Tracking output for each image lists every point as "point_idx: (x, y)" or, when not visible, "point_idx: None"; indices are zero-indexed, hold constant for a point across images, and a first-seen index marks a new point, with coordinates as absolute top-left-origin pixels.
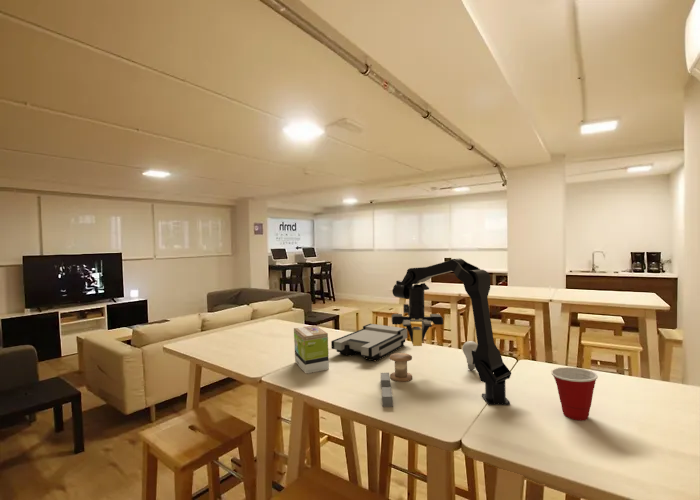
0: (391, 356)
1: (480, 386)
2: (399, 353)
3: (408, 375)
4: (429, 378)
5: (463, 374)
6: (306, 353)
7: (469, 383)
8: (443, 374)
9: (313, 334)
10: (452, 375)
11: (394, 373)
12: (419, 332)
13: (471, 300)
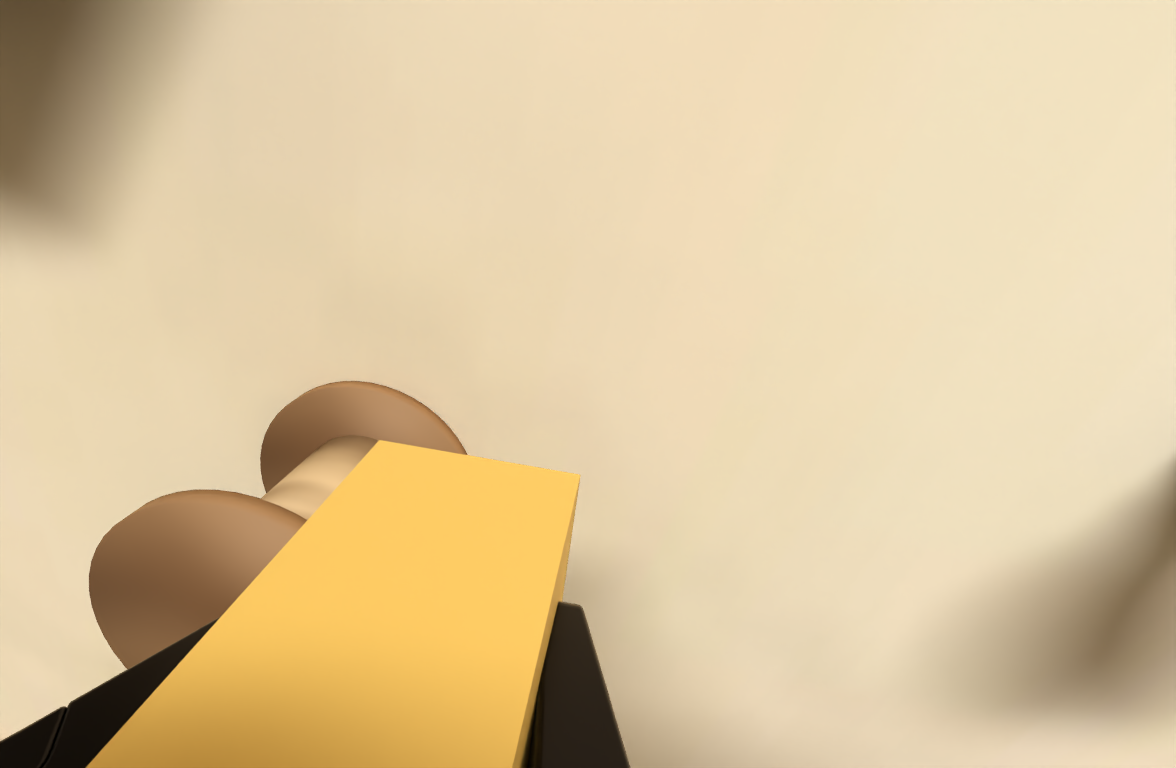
0: (115, 608)
1: (996, 763)
2: (216, 523)
3: None
4: (632, 549)
5: (1038, 532)
6: None
7: (943, 704)
8: (817, 492)
9: None
10: (899, 532)
11: (302, 426)
12: None
13: None
